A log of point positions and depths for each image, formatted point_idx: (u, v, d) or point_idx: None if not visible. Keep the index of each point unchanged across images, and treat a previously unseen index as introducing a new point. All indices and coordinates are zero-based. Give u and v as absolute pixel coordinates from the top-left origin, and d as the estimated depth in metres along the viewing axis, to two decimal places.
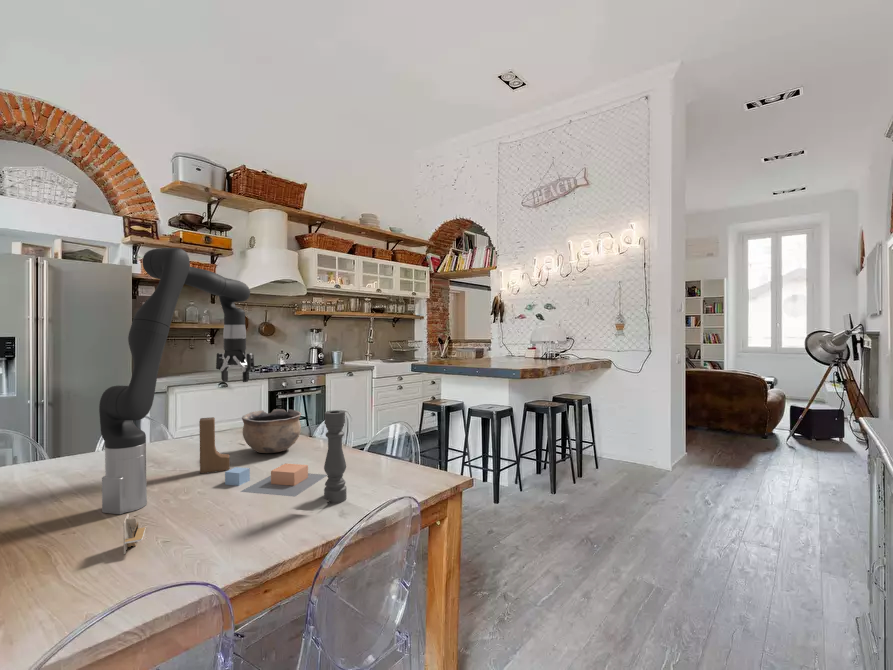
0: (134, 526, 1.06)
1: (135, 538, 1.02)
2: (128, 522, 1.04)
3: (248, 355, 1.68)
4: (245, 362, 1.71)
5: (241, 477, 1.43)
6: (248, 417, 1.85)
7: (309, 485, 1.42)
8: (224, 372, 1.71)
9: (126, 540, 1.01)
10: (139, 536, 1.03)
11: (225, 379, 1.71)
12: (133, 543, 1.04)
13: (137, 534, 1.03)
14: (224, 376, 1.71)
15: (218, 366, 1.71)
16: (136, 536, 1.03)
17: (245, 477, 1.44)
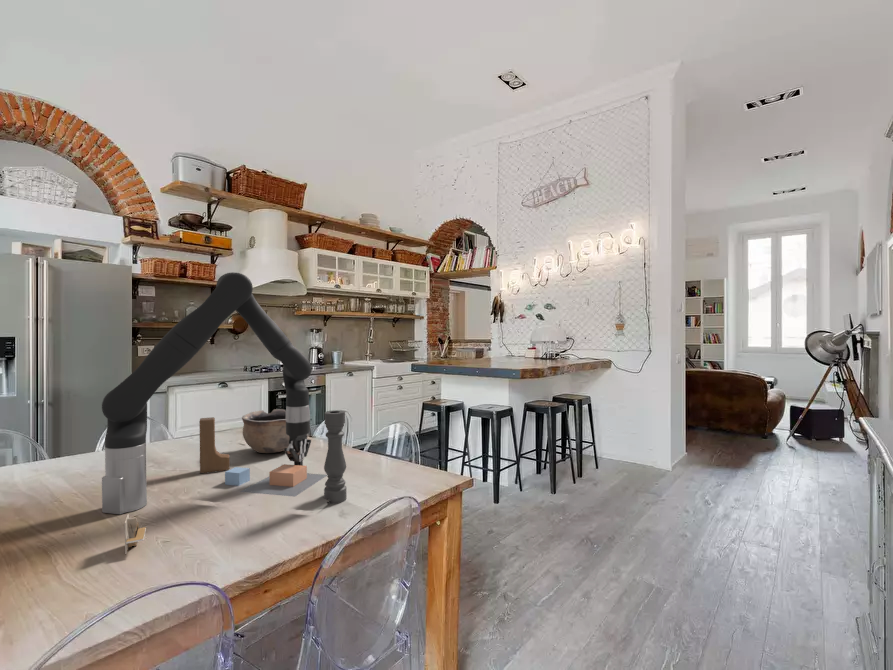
0: (134, 526, 1.06)
1: (136, 538, 1.02)
2: (129, 522, 1.04)
3: (310, 441, 1.57)
4: None
5: (241, 477, 1.43)
6: (248, 417, 1.85)
7: (309, 485, 1.42)
8: None
9: (127, 540, 1.01)
10: (140, 536, 1.03)
11: None
12: (134, 543, 1.04)
13: (138, 534, 1.03)
14: None
15: (297, 457, 1.49)
16: (137, 536, 1.03)
17: (245, 477, 1.44)
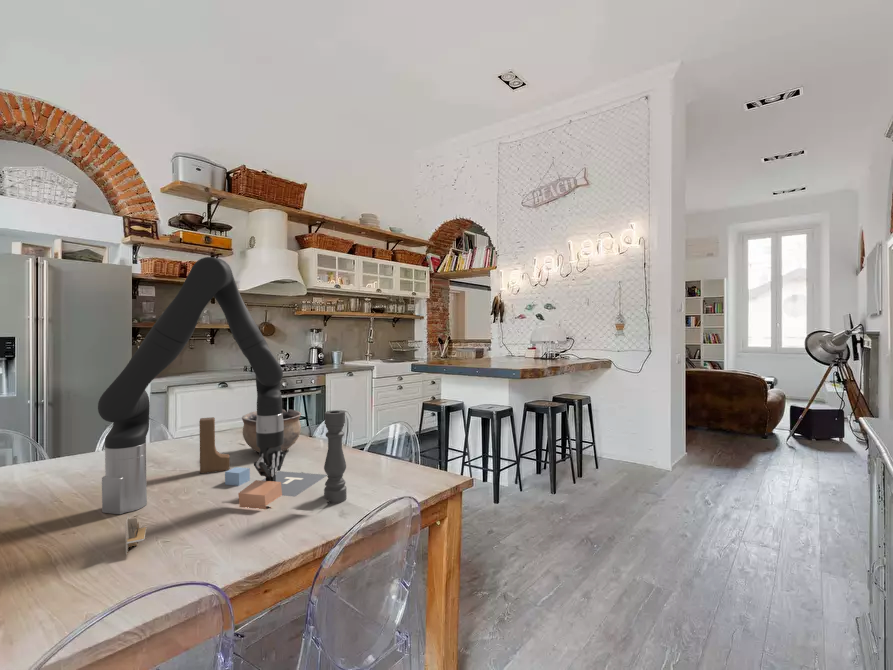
0: (135, 526, 1.06)
1: (137, 538, 1.02)
2: (129, 522, 1.04)
3: (284, 454, 1.41)
4: None
5: (241, 477, 1.43)
6: (248, 417, 1.85)
7: (309, 485, 1.42)
8: None
9: (128, 540, 1.01)
10: (141, 536, 1.03)
11: None
12: (134, 543, 1.04)
13: (138, 534, 1.04)
14: None
15: (269, 472, 1.34)
16: (138, 536, 1.03)
17: (245, 477, 1.44)
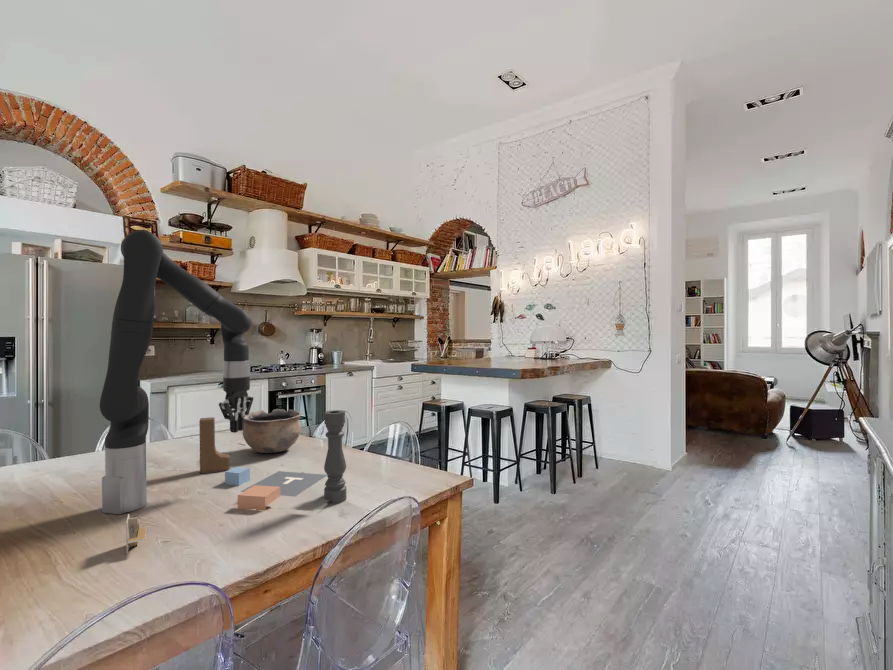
0: (135, 526, 1.06)
1: (138, 538, 1.02)
2: (130, 522, 1.04)
3: (252, 399, 1.50)
4: None
5: (241, 477, 1.43)
6: (248, 417, 1.85)
7: (309, 485, 1.42)
8: None
9: (129, 540, 1.01)
10: (142, 536, 1.03)
11: None
12: (135, 543, 1.04)
13: (139, 534, 1.04)
14: None
15: None
16: (139, 536, 1.03)
17: (245, 477, 1.44)
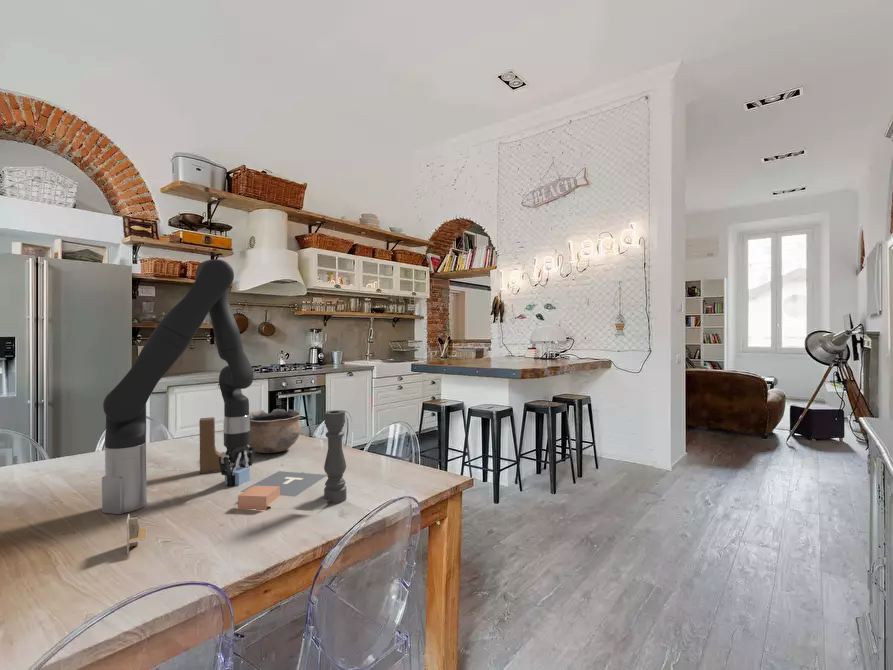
0: (135, 526, 1.06)
1: (139, 538, 1.02)
2: (130, 522, 1.04)
3: (253, 448, 1.50)
4: None
5: (241, 477, 1.43)
6: None
7: (309, 485, 1.42)
8: None
9: (130, 540, 1.01)
10: (142, 535, 1.03)
11: None
12: (135, 543, 1.04)
13: (139, 534, 1.04)
14: None
15: (230, 471, 1.40)
16: (139, 536, 1.03)
17: (244, 477, 1.44)
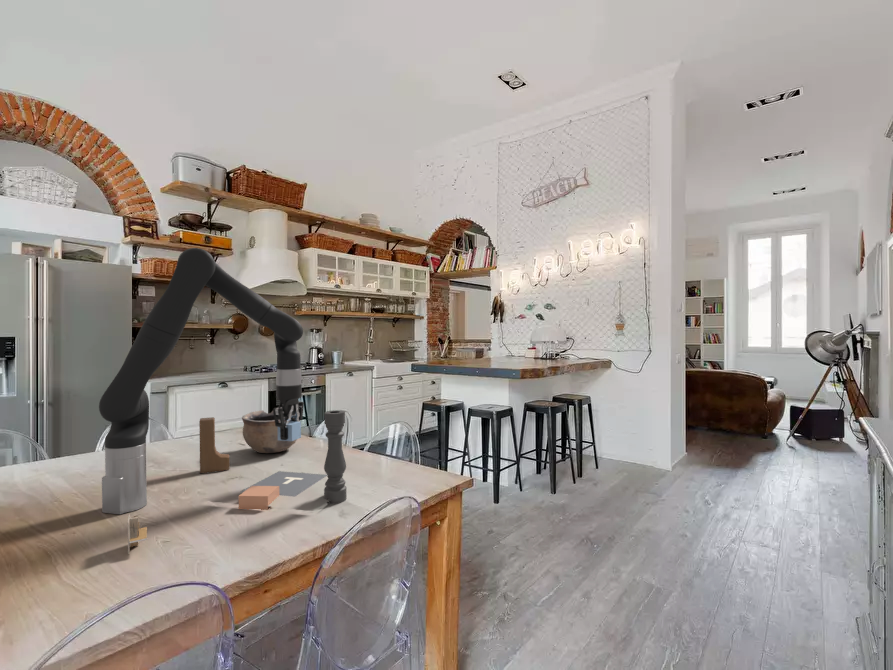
0: (136, 526, 1.06)
1: (139, 537, 1.02)
2: (130, 522, 1.04)
3: (303, 404, 1.52)
4: None
5: (293, 429, 1.44)
6: (248, 417, 1.85)
7: (309, 485, 1.42)
8: None
9: (131, 540, 1.01)
10: (143, 535, 1.03)
11: None
12: (136, 543, 1.04)
13: (140, 534, 1.04)
14: None
15: (283, 423, 1.41)
16: (140, 535, 1.03)
17: (296, 430, 1.45)
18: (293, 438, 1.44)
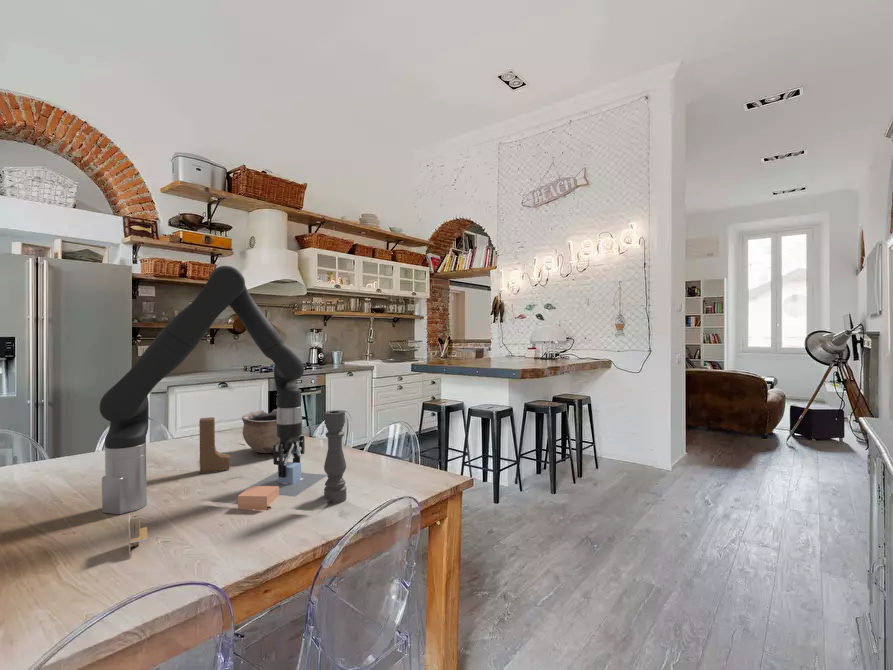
0: (136, 526, 1.06)
1: (140, 537, 1.02)
2: (131, 522, 1.04)
3: (303, 437, 1.52)
4: None
5: (294, 471, 1.44)
6: (248, 417, 1.85)
7: (309, 485, 1.42)
8: None
9: (132, 539, 1.01)
10: (144, 535, 1.03)
11: None
12: (137, 543, 1.04)
13: (141, 534, 1.04)
14: None
15: (282, 461, 1.40)
16: (141, 535, 1.03)
17: (297, 471, 1.46)
18: (294, 480, 1.44)
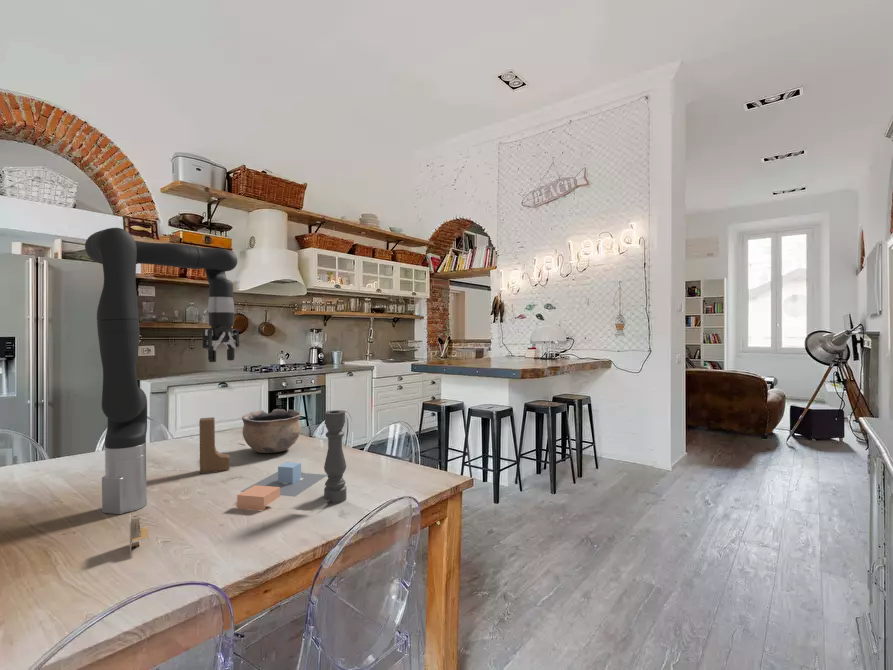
0: (136, 526, 1.06)
1: (142, 537, 1.02)
2: (132, 522, 1.04)
3: (237, 331, 1.58)
4: None
5: (294, 471, 1.44)
6: (248, 417, 1.85)
7: (309, 485, 1.42)
8: None
9: (133, 539, 1.01)
10: (145, 535, 1.03)
11: None
12: (137, 543, 1.04)
13: (142, 534, 1.04)
14: None
15: (211, 345, 1.46)
16: (142, 535, 1.03)
17: (297, 471, 1.46)
18: (294, 480, 1.44)
